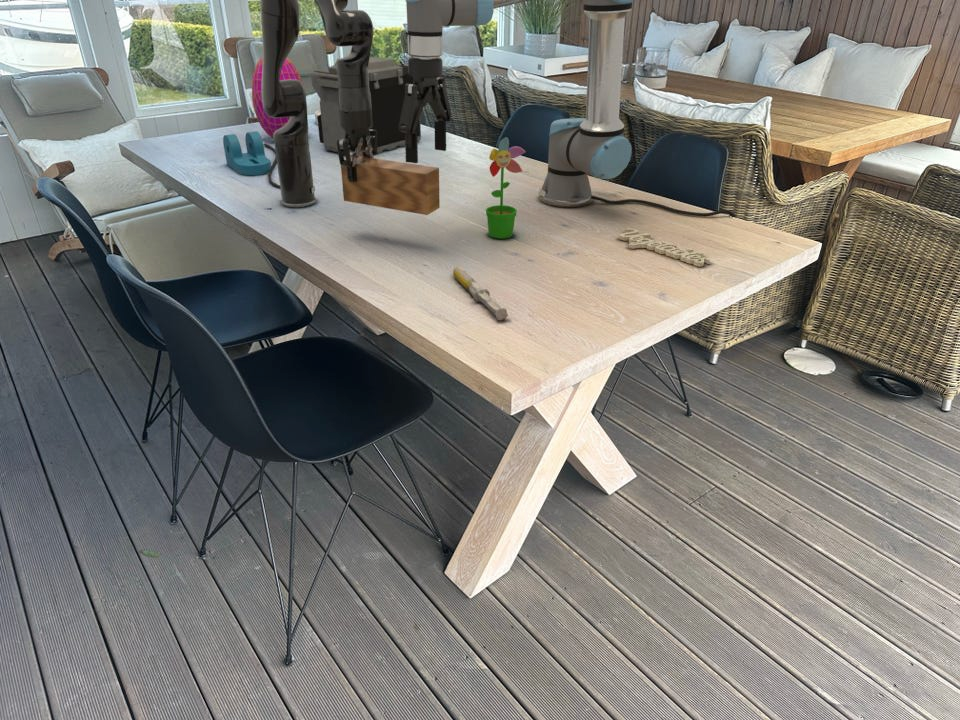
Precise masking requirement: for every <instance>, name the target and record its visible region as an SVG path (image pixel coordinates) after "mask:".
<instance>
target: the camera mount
mask: <svg viewBox="0 0 960 720" xmlns="http://www.w3.org/2000/svg"><path fill="white" fill-rule="evenodd" d="M222 140H223V141H222V143H223V149H224V150H223V151H224V156H225V161H226V165H227V166H228V167H230V168H231V169H232V170H234V171H236V172H237V173H238V174H239V175H244V176H260V175H265V174H268V173H269V170H270V169H271V166H272V164H271V159H270V158H268V157H267V156H266V153H265V145H264V141H263V139H262V136H261V134H260V132H258V131H247V132H246V133H245V146H246V152H243V151H242V150H243V149H242V146H241V142H240V140H239V138H238V135H236V134H235V133H231V134H224V135H223V138H222Z"/></svg>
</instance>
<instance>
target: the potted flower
mask: <svg viewBox="0 0 960 720" xmlns="http://www.w3.org/2000/svg"><path fill="white" fill-rule="evenodd" d="M497 148H498V149H497ZM497 148H492V150H491V151H490V154H489V158H488V159H489V160H490V161H492V162H491V163H490V166H489V172H490V175H491V176H492V177H493V178H494V177H496V176H497V175H498V173H499V171H500V189H495V190H493V191H492V192H491V193H490V194H491V195H492V197H494V198H500V199H499V200H500V201H499V204H498V205H491V206H488V207H487V208H486V209H485V215H486V218H487V219H486V220H487V229H488V236H489V237H491V238H494V239H509V238H511V237H512V236H513V234H514V227H515V221H516V217H517V213H518V210H517V208H516V207H513V206H510V205H504V189H507V188H508V187H509V186H510V184H511V182H509V181H506V182H504V179H505V178H504V176H505V174H504V173H505V172H504V171H505V169H506V170H507V171H508V172H510V173H514V174H517V173H522V172H523V169H522V167H521V166H520V164H519V163H518V162H517V161H516V160H515V159H516V158H519V157H520V156H522V155H523V154H525V153H526V152H527V151H526V150H525V149H523V148H522V147H521V146H517V145H514V146H511V147H510V140H509V138H508V137H507V136H506V137H504V138H502V139H501V140H500V141H499V142H498V144H497Z"/></svg>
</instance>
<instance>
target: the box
mask: <svg viewBox="0 0 960 720" xmlns="http://www.w3.org/2000/svg"><path fill="white" fill-rule="evenodd" d="M350 158H351V161H352V158H353V157H350ZM356 171H357V182H349V181H348V178H347V167H346V166H345V165H340V172H341V184H342V185H341V186H342V194H343V196H342V197H343V201H344V202H347V203H355V204H360V205H366V206H372V207H377V208H384V209H388V210H395V211H401V212H407V213H412V214H418V215H423V216H429V215H430V214H433V213H434V212H435V211H437V210H439V209H440V208H441V206H440V205H441V203H440V202H441V201H440V199H441V198H440V167H436V166H430V165H424V164H418V163H410V162H404V161H403V162H401V161H395V160H388V159H381V158H375V157H374V158H368V157H361V156H359V157H358V158H357V161H356Z"/></svg>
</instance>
